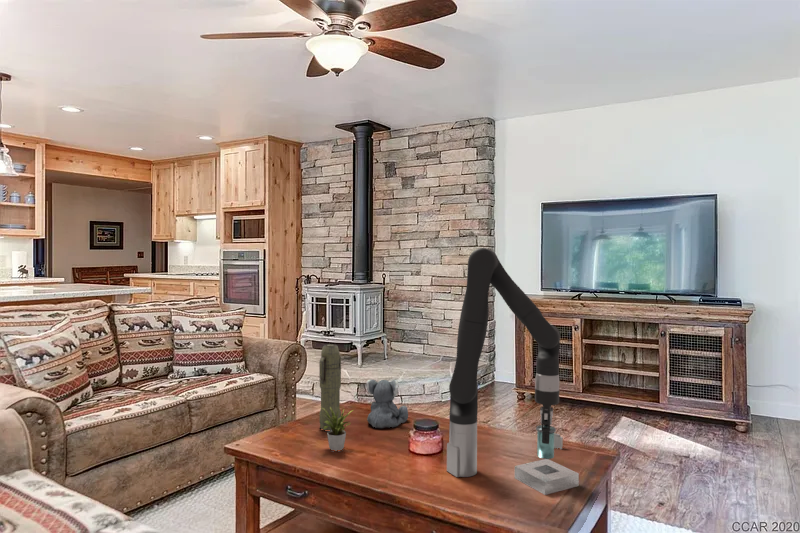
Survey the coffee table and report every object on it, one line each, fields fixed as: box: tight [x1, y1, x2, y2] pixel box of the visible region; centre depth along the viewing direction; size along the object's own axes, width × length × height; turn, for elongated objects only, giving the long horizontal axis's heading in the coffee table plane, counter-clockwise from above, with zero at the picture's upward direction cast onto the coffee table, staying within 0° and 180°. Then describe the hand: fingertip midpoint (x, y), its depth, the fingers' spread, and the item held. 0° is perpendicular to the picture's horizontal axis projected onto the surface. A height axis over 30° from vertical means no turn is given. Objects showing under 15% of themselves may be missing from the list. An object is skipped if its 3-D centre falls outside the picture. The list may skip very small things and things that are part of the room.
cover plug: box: [535, 424, 557, 460], centre depth 172 cm, size 6×6×9 cm
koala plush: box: [365, 379, 409, 429], centre depth 231 cm, size 17×18×20 cm
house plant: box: [319, 407, 354, 451], centre depth 200 cm, size 14×14×16 cm
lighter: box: [554, 432, 564, 450], centre depth 204 cm, size 7×2×8 cm, turn 59°
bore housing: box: [514, 458, 580, 496], centre depth 172 cm, size 14×14×4 cm
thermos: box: [318, 343, 342, 430], centre depth 225 cm, size 9×12×35 cm
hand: (546, 439), depth 172 cm, fingers closed on cover plug, 6 cm apart
